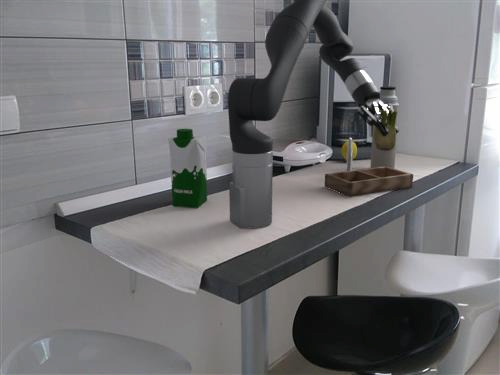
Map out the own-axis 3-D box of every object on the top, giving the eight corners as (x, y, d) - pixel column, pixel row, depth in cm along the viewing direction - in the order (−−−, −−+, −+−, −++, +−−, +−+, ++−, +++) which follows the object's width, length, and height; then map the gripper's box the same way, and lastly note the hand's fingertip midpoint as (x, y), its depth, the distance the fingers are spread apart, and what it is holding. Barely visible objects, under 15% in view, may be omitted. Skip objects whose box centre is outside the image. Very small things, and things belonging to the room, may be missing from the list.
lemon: (355, 160, 185) (356, 138, 183) (357, 163, 180) (358, 141, 178) (340, 159, 186) (341, 138, 184) (341, 163, 181) (342, 141, 178)
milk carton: (168, 207, 129) (164, 130, 124) (181, 197, 138) (179, 125, 133) (199, 209, 127) (197, 131, 122) (211, 200, 135) (210, 126, 130)
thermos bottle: (374, 166, 175) (379, 85, 168) (397, 168, 171) (403, 86, 164) (366, 170, 169) (372, 86, 161) (390, 173, 165) (396, 87, 157)
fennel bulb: (371, 149, 149) (374, 108, 145) (382, 147, 151) (385, 108, 148) (386, 152, 144) (390, 110, 141) (397, 150, 147) (401, 109, 144)
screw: (351, 180, 156) (337, 177, 159) (359, 177, 160) (345, 175, 163) (353, 139, 153) (339, 137, 156) (361, 137, 156) (347, 135, 159)
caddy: (349, 197, 138) (350, 183, 137) (324, 186, 148) (325, 173, 147) (412, 187, 148) (413, 174, 147) (384, 178, 158) (385, 166, 157)
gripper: (353, 81, 144) (383, 128, 138) (384, 79, 152) (415, 124, 146) (338, 98, 150) (367, 144, 143) (370, 96, 158) (398, 139, 152)
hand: (391, 133), depth 145 cm, fingers closed on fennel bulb, 3 cm apart
